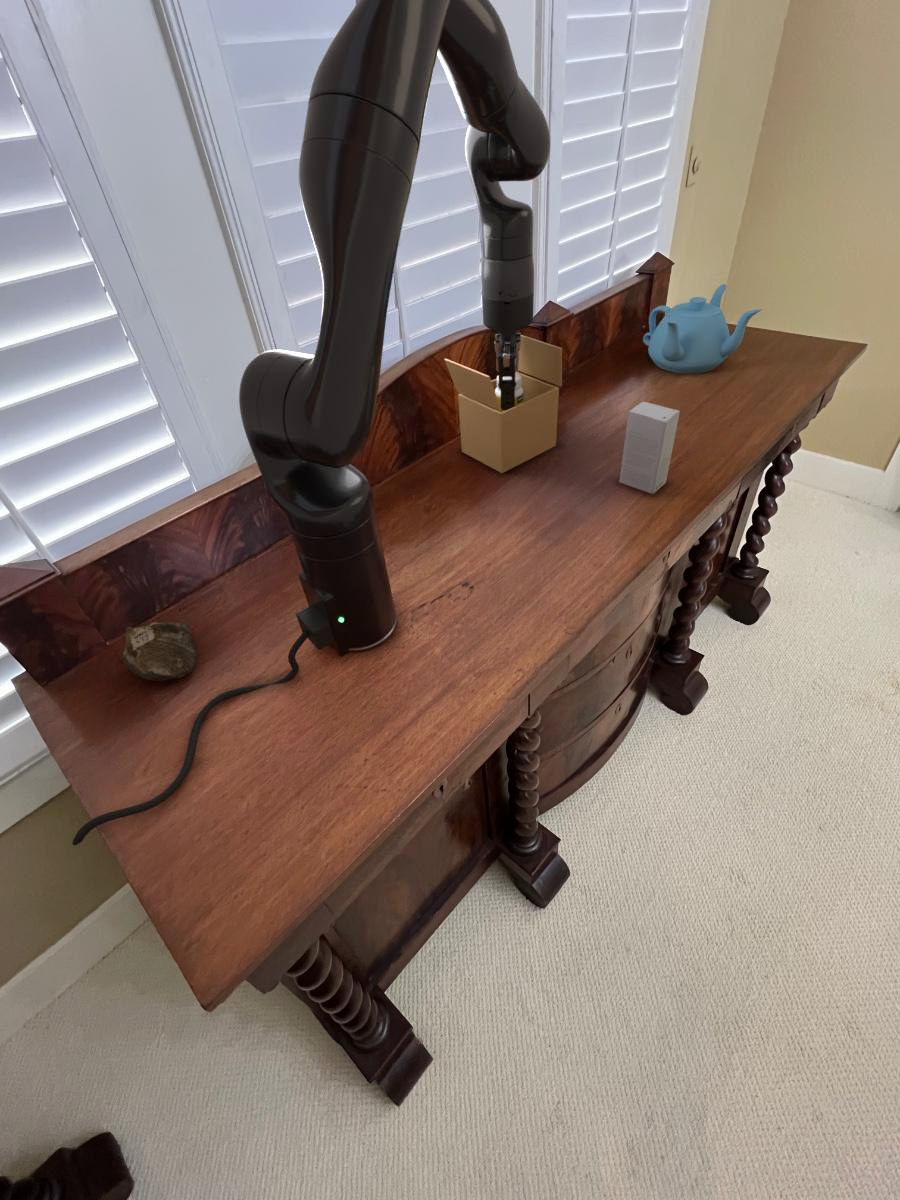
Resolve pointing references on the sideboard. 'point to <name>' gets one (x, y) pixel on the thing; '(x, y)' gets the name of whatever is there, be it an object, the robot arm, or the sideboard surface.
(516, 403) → the supplement bottle
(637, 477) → the cosmetic box
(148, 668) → the fossilized seashell
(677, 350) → the teapot
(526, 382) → the carton
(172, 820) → the sideboard surface
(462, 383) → the flap
